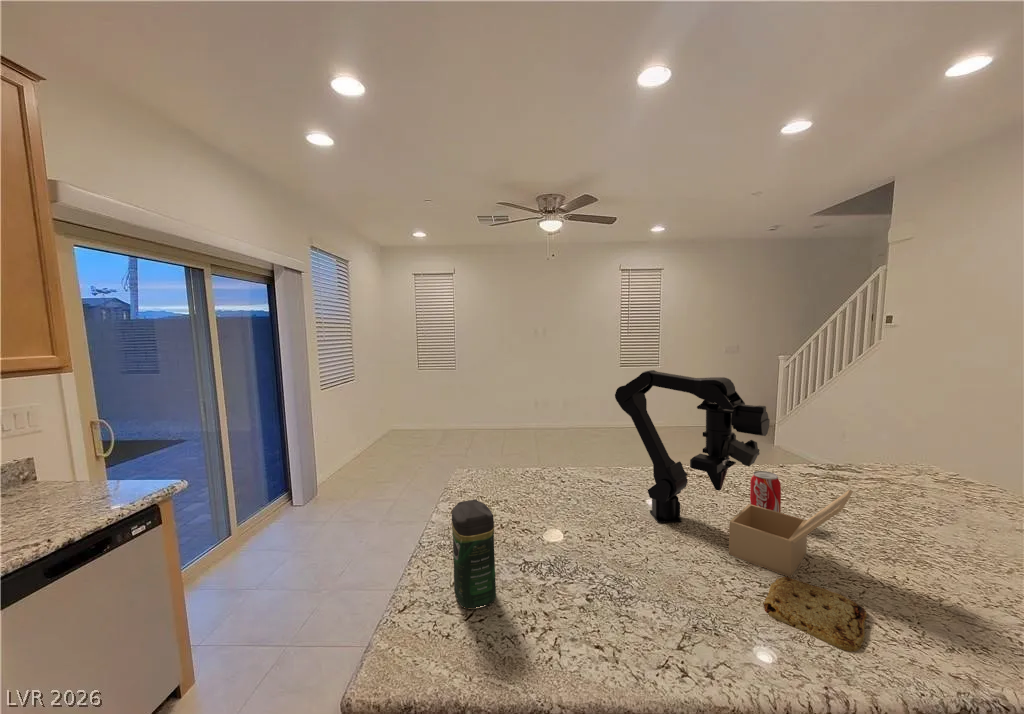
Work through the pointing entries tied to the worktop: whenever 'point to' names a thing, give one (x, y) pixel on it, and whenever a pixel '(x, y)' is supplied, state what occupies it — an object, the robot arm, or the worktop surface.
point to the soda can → (765, 490)
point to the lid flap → (823, 515)
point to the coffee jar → (473, 554)
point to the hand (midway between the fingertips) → (718, 489)
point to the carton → (767, 539)
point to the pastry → (817, 612)
